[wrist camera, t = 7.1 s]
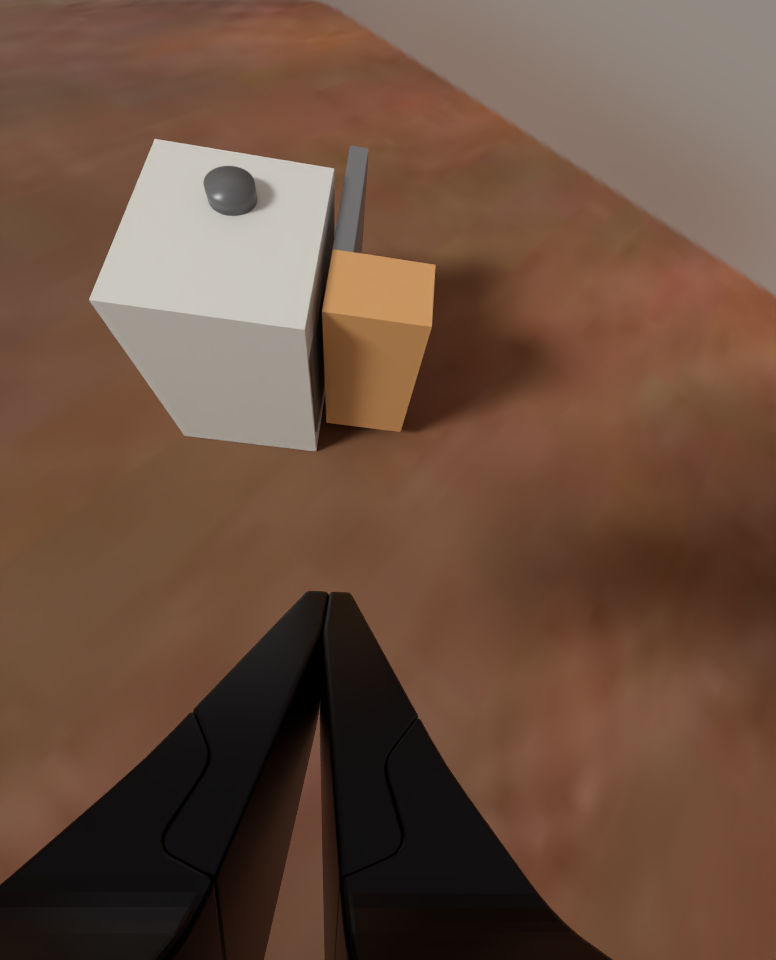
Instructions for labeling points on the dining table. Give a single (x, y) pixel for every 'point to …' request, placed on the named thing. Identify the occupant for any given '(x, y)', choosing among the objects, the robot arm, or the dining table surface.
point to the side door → (371, 319)
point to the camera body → (225, 291)
